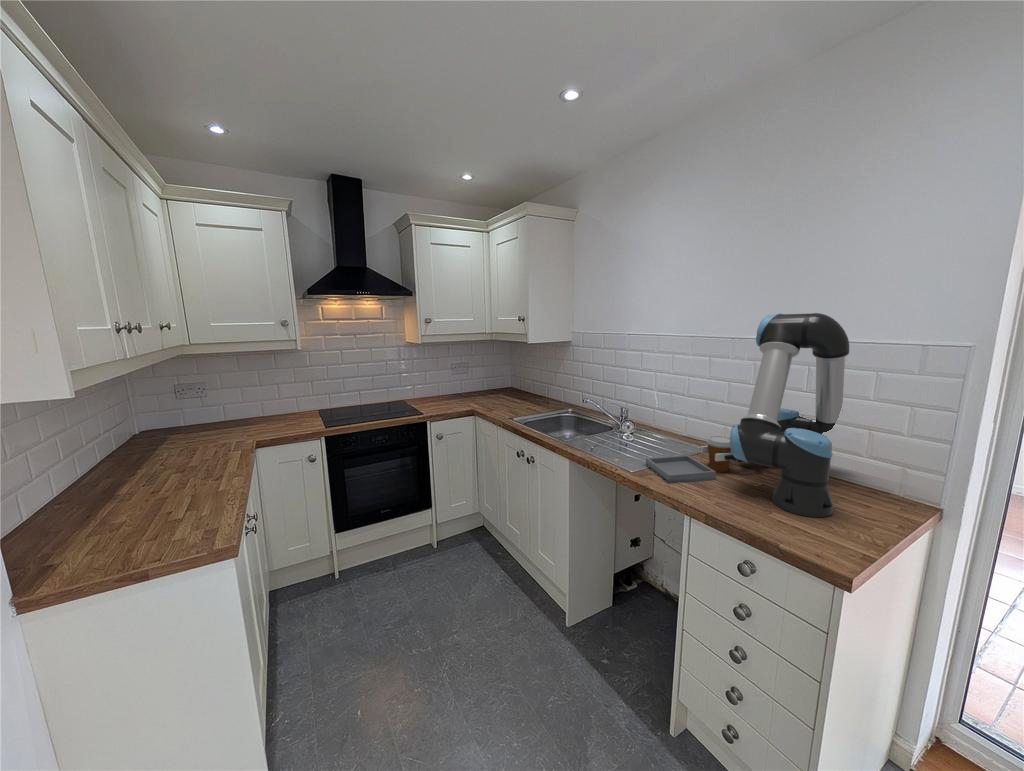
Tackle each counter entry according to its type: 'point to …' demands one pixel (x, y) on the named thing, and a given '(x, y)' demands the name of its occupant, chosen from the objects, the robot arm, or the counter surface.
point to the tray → (680, 469)
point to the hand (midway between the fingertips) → (708, 453)
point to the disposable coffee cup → (718, 446)
